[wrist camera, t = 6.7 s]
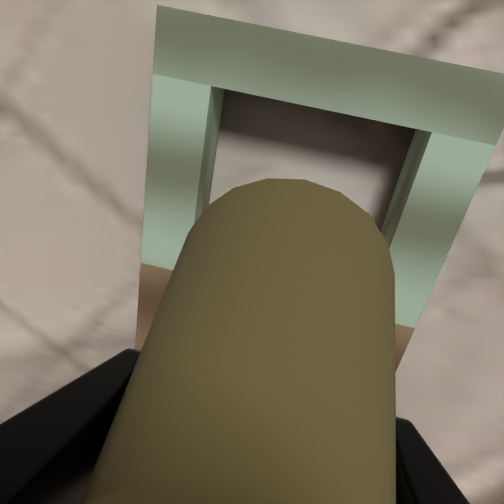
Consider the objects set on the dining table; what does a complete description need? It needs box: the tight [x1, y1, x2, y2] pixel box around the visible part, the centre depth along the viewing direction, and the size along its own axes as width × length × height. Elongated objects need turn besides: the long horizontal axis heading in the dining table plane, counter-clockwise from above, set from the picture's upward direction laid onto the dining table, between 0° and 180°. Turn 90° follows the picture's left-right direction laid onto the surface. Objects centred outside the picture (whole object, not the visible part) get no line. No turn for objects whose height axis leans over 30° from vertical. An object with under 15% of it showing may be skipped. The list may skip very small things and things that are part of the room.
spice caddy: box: [135, 5, 504, 372], centre depth 22 cm, size 30×12×4 cm, turn 170°
